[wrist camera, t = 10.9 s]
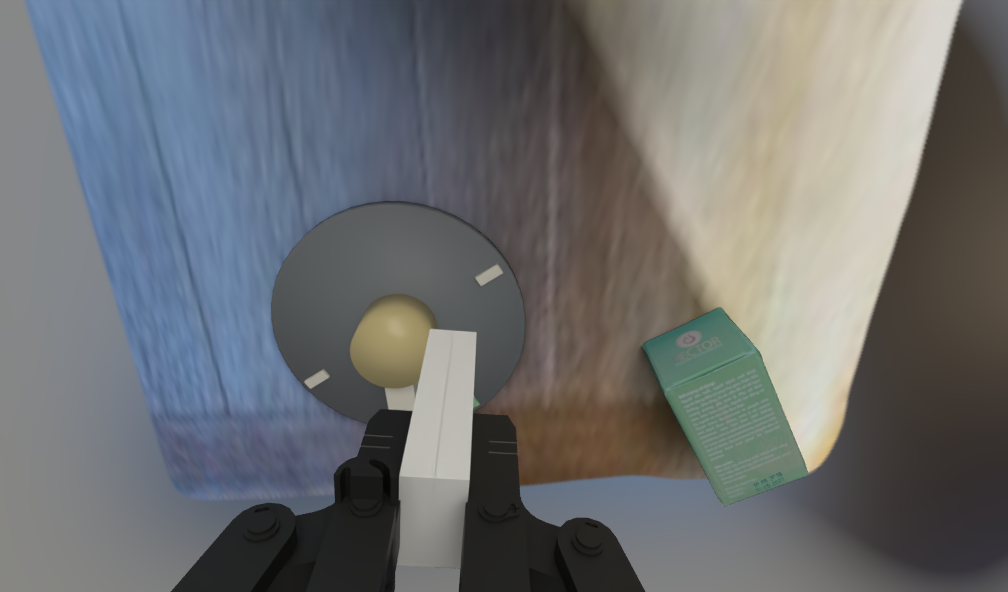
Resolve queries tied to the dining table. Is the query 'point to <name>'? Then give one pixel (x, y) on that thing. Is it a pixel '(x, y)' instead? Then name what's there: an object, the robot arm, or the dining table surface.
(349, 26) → the dining table surface
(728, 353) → the box
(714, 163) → the dining table surface
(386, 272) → the plate
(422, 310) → the round-headed handle
